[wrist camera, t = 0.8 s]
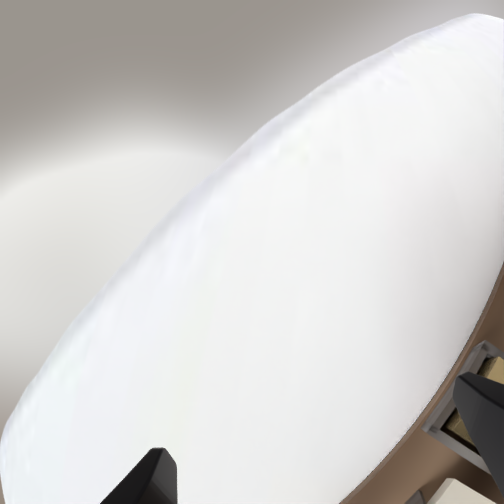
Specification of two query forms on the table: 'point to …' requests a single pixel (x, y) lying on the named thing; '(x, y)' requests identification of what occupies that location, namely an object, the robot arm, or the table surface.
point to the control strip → (440, 432)
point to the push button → (490, 369)
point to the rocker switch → (457, 494)
